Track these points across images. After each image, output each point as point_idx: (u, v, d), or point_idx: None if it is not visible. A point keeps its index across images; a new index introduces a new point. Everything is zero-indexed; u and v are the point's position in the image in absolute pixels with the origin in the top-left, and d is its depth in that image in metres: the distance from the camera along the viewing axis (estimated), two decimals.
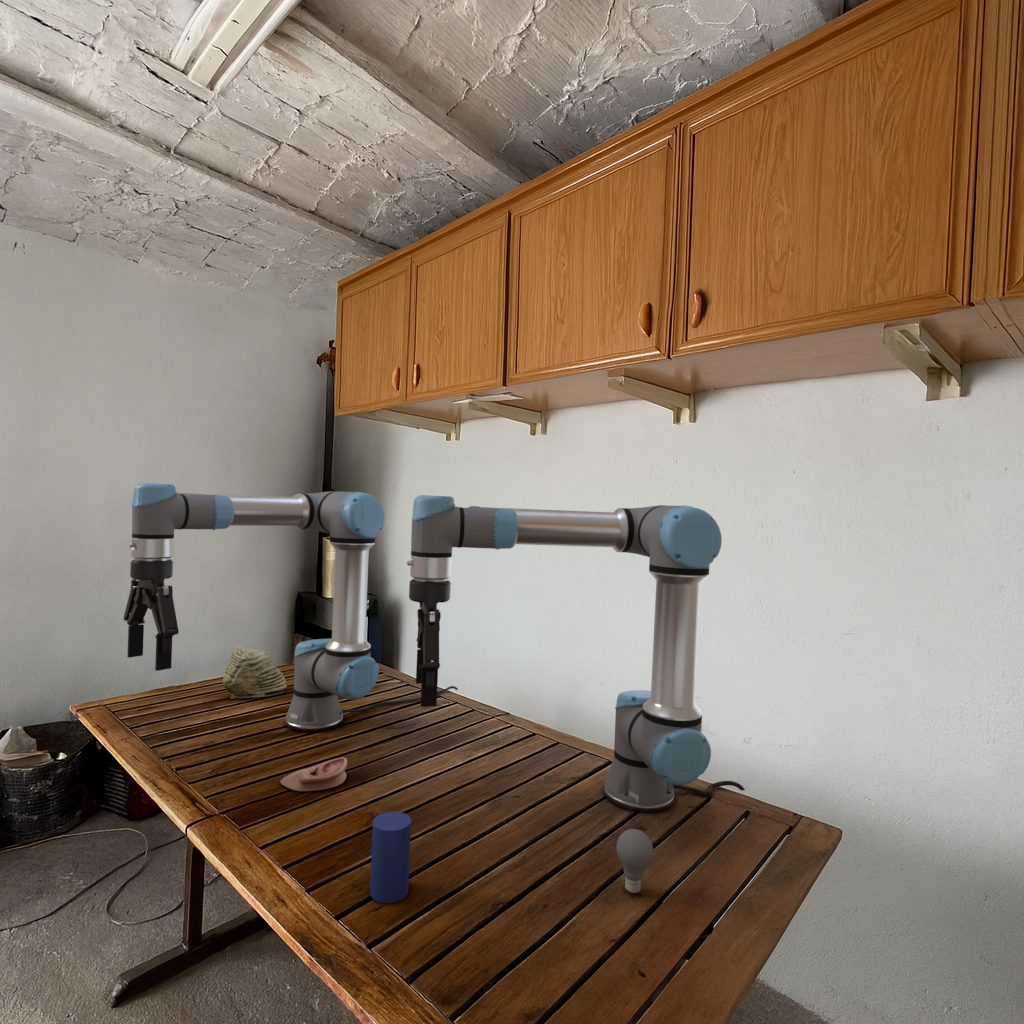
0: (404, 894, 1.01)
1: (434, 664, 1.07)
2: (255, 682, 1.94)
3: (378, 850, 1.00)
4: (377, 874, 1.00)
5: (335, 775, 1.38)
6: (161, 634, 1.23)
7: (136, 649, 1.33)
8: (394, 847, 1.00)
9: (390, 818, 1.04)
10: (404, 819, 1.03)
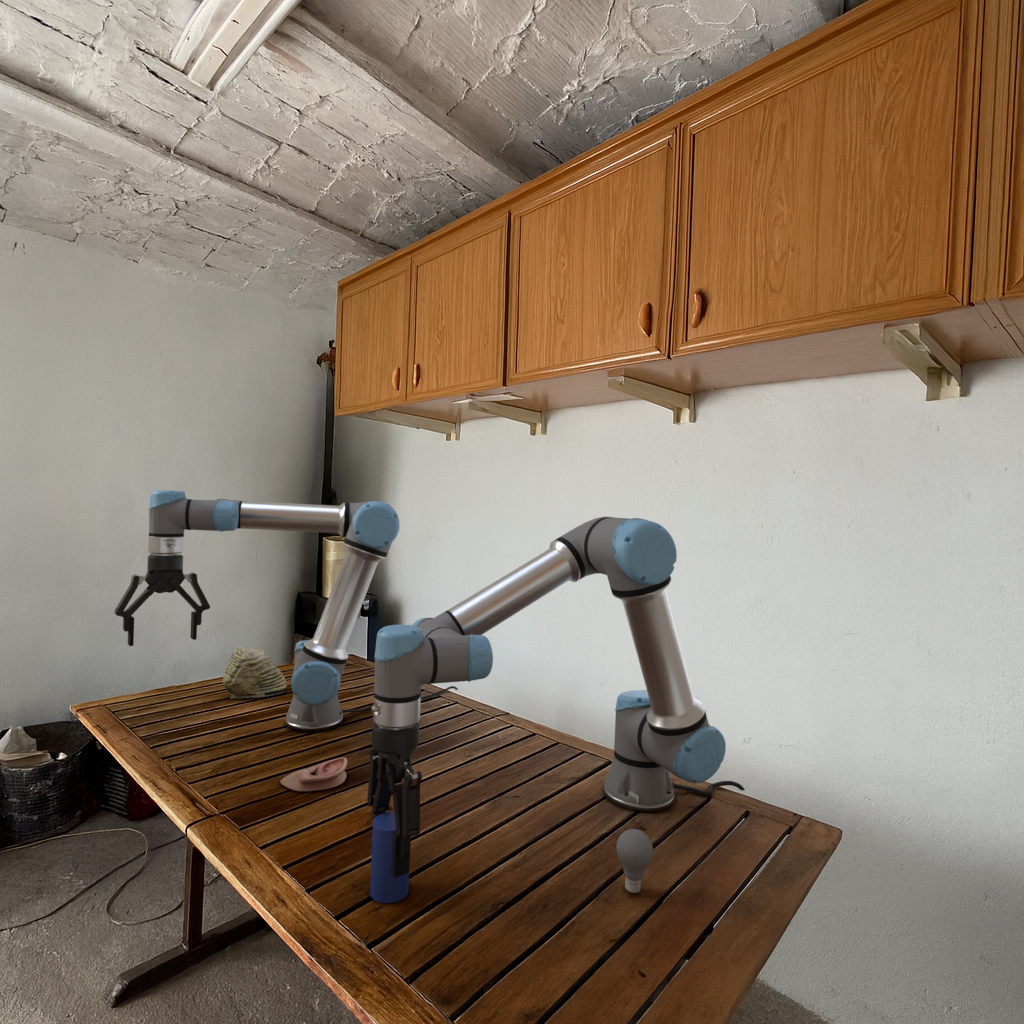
0: (404, 894, 1.01)
1: (415, 833, 0.98)
2: (255, 682, 1.94)
3: (378, 850, 1.00)
4: (378, 874, 1.00)
5: (335, 775, 1.38)
6: None
7: None
8: None
9: (390, 818, 1.04)
10: None
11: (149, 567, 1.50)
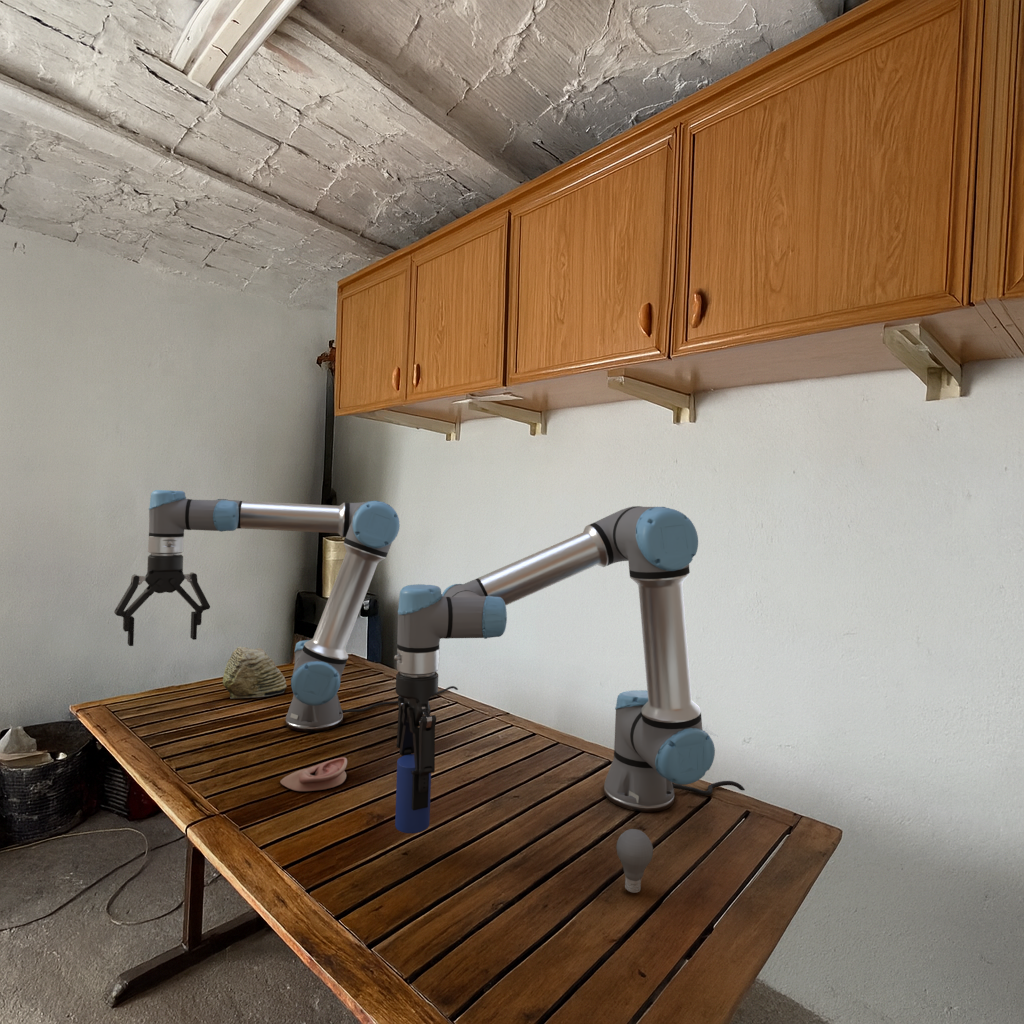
0: (424, 827, 1.12)
1: (430, 770, 1.08)
2: (255, 682, 1.94)
3: (400, 785, 1.11)
4: (400, 807, 1.11)
5: (335, 775, 1.38)
6: None
7: None
8: None
9: (413, 758, 1.15)
10: None
11: (149, 567, 1.50)
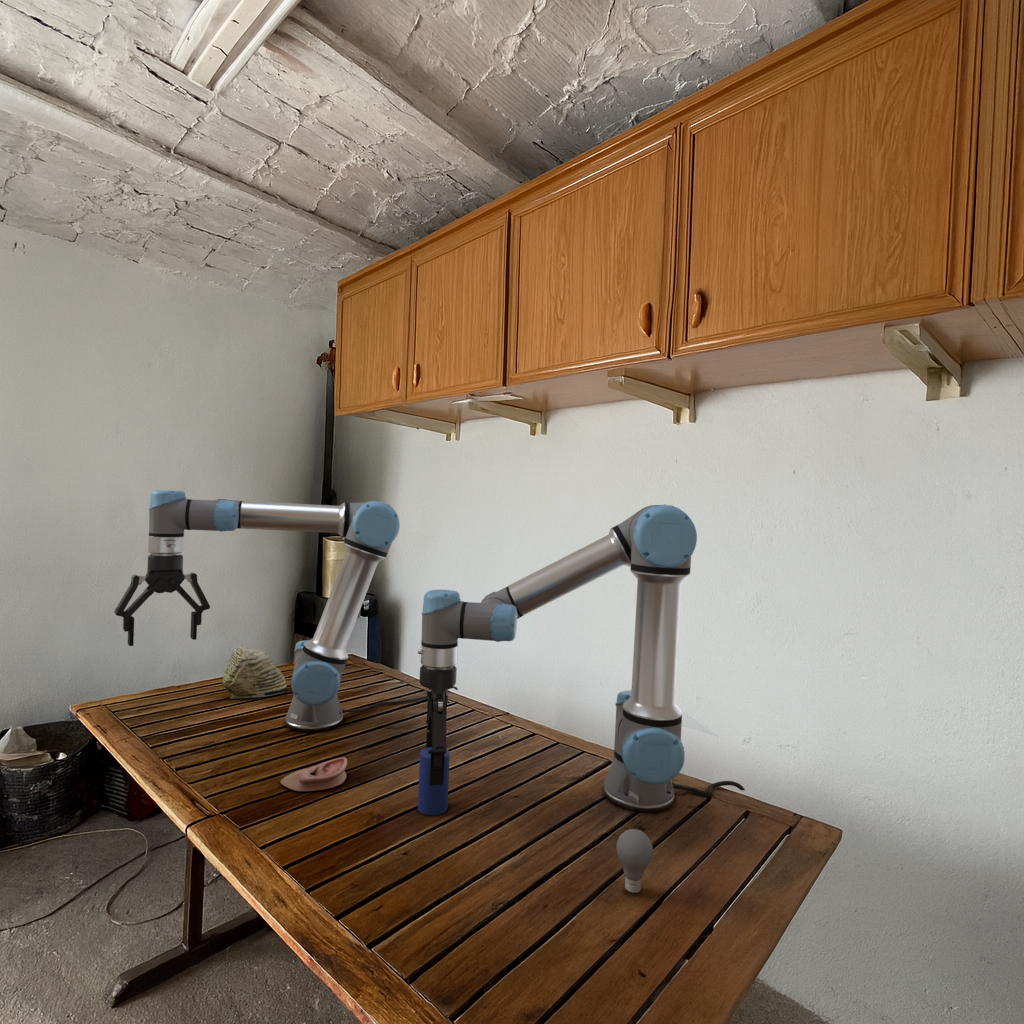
0: (440, 811, 1.29)
1: (441, 750, 1.23)
2: (255, 682, 1.94)
3: (420, 772, 1.29)
4: (420, 790, 1.29)
5: (335, 775, 1.38)
6: None
7: None
8: None
9: None
10: None
11: (149, 567, 1.50)
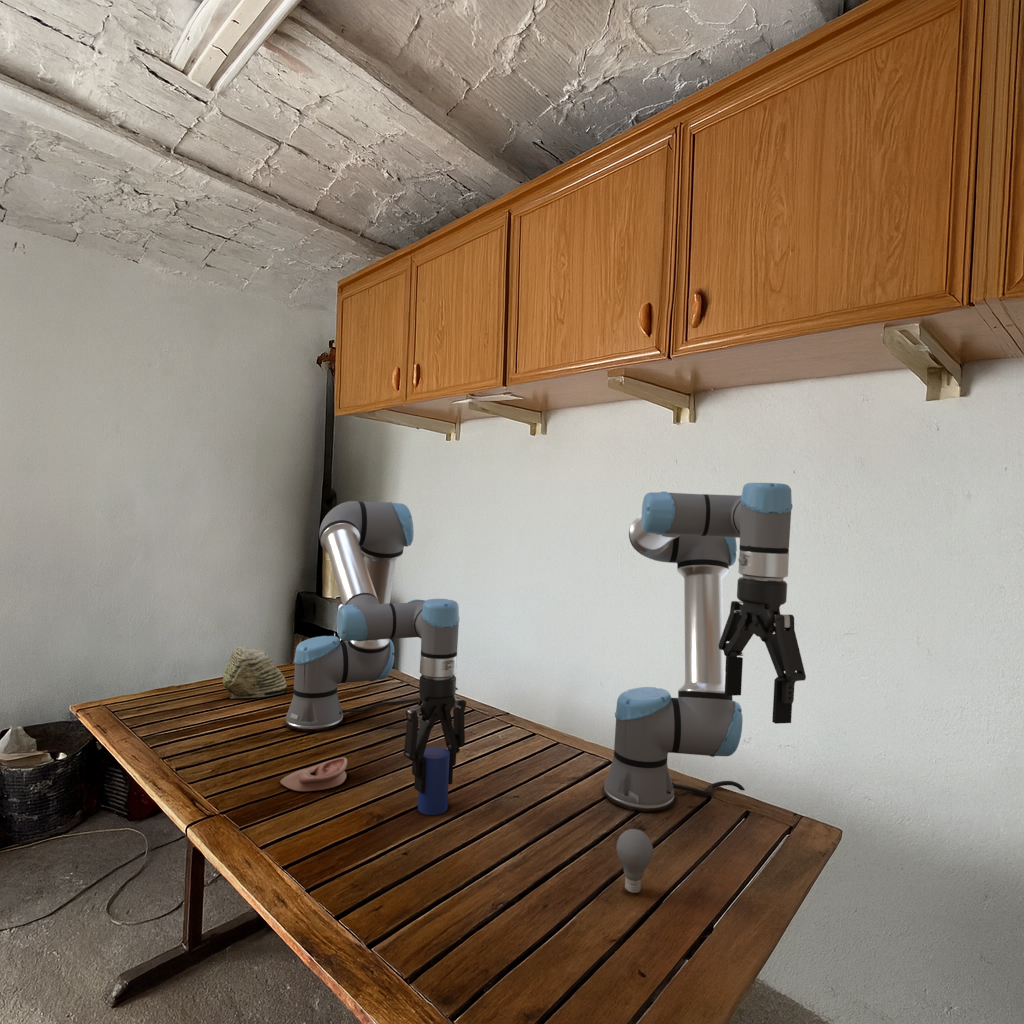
0: (440, 811, 1.29)
1: (800, 675, 0.93)
2: (255, 682, 1.94)
3: None
4: None
5: (335, 775, 1.38)
6: None
7: None
8: (431, 771, 1.28)
9: (435, 750, 1.32)
10: (444, 753, 1.31)
11: (425, 693, 1.28)
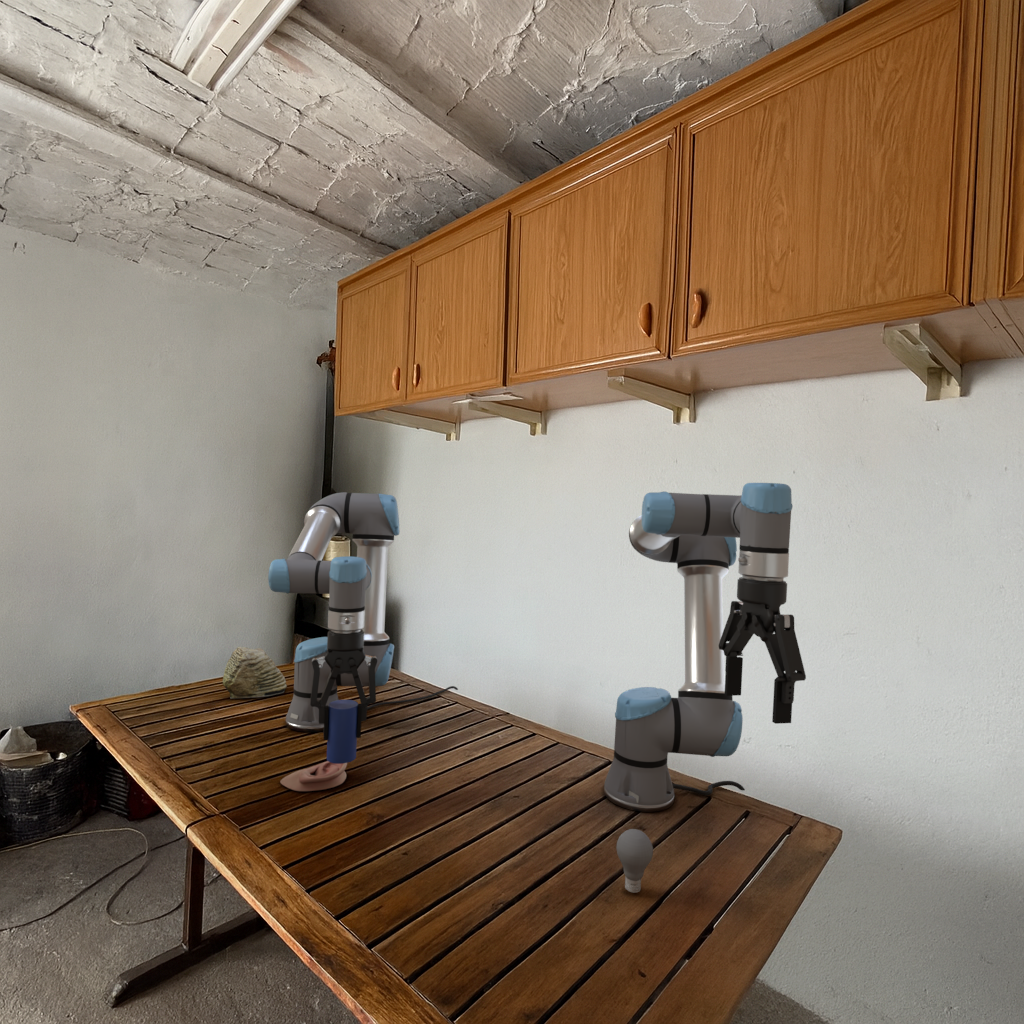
0: (341, 761, 1.33)
1: (800, 675, 0.93)
2: (255, 682, 1.94)
3: None
4: (327, 738, 1.35)
5: (335, 775, 1.38)
6: (367, 704, 1.36)
7: None
8: (332, 720, 1.33)
9: (346, 702, 1.36)
10: (350, 706, 1.34)
11: (328, 645, 1.33)
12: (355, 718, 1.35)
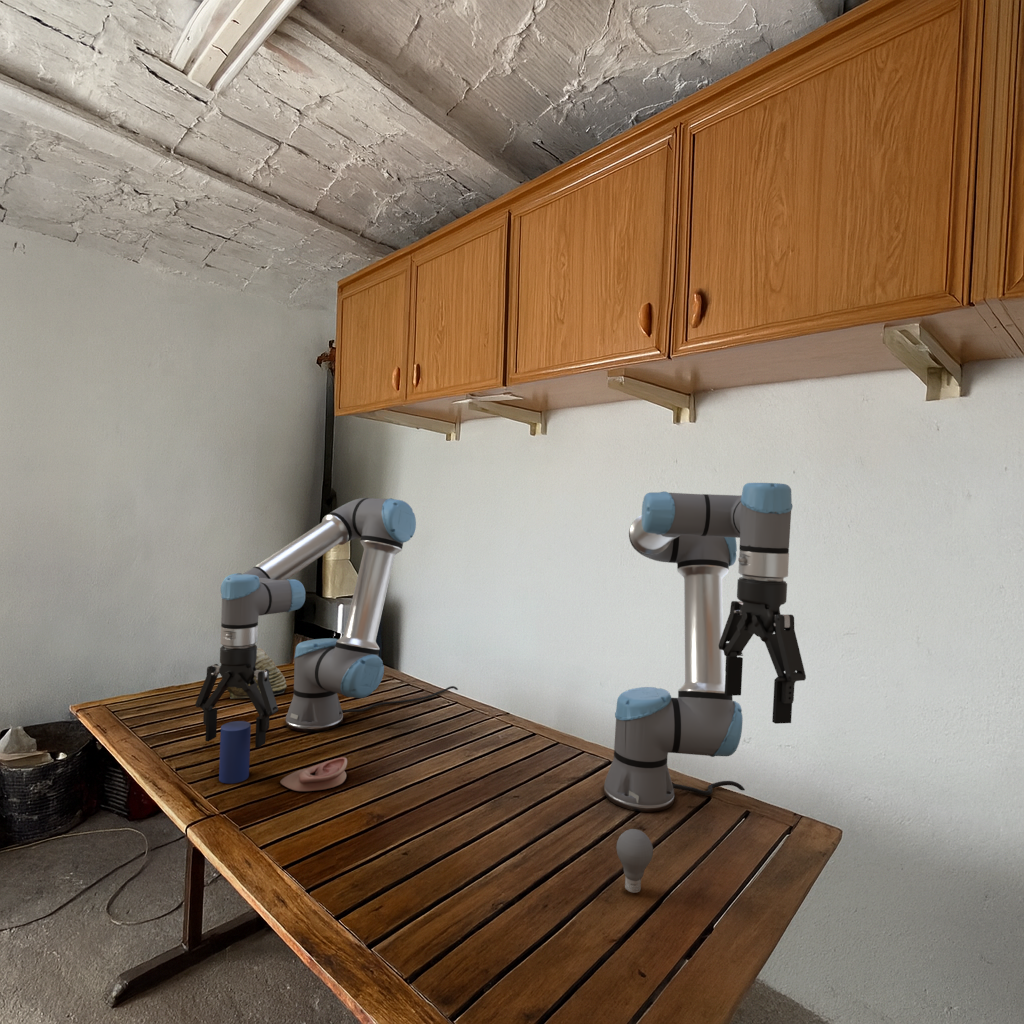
0: (224, 780, 1.38)
1: (800, 675, 0.93)
2: None
3: None
4: None
5: (335, 775, 1.38)
6: (264, 715, 1.38)
7: (212, 732, 1.42)
8: (220, 740, 1.39)
9: (240, 725, 1.41)
10: (237, 728, 1.39)
11: None
12: (240, 741, 1.39)
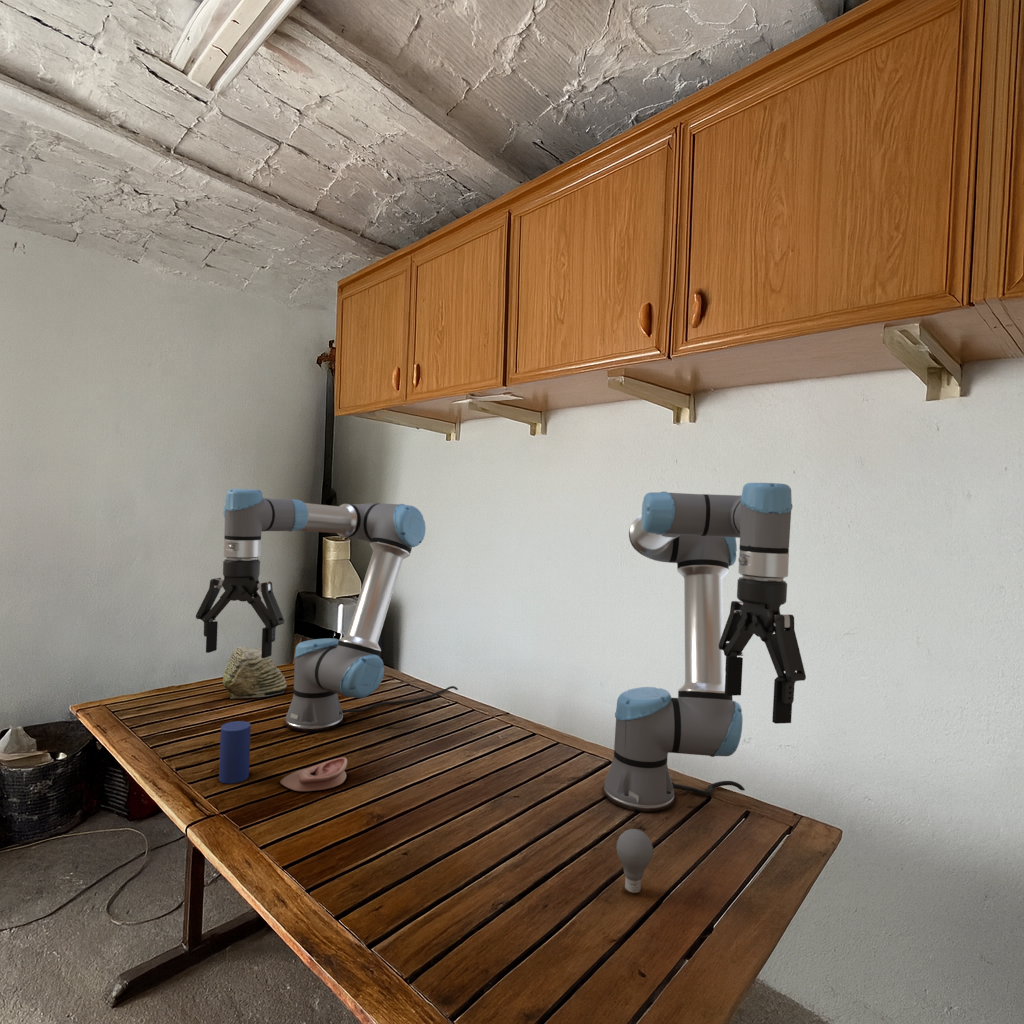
0: (224, 780, 1.38)
1: (800, 675, 0.93)
2: (255, 682, 1.94)
3: None
4: None
5: (335, 775, 1.38)
6: (270, 625, 1.38)
7: (213, 644, 1.42)
8: (220, 740, 1.39)
9: (240, 725, 1.41)
10: (237, 728, 1.39)
11: None
12: (240, 741, 1.39)
